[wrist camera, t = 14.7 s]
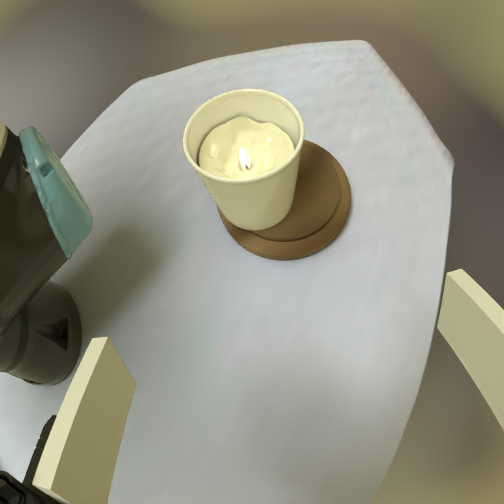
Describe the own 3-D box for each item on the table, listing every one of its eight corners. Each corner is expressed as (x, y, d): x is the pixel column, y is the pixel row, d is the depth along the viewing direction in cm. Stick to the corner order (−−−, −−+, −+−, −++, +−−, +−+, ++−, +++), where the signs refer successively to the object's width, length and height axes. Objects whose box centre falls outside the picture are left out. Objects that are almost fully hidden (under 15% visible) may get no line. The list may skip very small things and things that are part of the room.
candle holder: (227, 154, 37) (206, 84, 26) (307, 169, 36) (313, 96, 24) (201, 227, 35) (164, 171, 23) (289, 247, 33) (290, 193, 22)
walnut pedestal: (193, 206, 40) (186, 193, 36) (275, 127, 42) (274, 111, 39) (291, 288, 35) (292, 282, 32) (371, 192, 38) (378, 178, 34)
